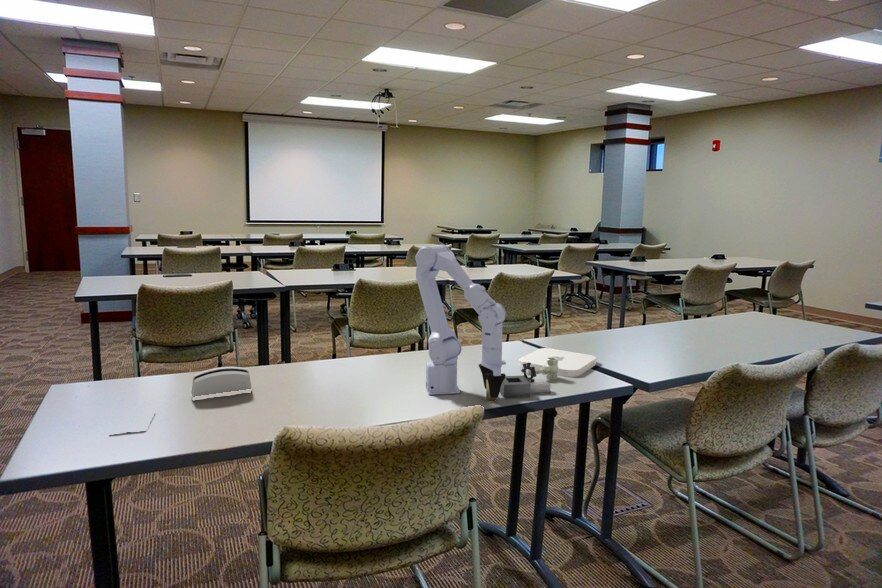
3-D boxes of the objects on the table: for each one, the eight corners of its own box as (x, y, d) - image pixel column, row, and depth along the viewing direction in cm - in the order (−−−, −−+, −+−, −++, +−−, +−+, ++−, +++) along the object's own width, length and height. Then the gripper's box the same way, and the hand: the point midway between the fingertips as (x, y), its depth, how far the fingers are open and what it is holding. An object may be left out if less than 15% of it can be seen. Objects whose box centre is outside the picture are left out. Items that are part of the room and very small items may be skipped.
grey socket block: (503, 398, 161) (503, 384, 160) (497, 389, 169) (497, 376, 168) (553, 396, 163) (553, 382, 162) (544, 387, 171) (545, 374, 170)
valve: (550, 374, 184) (520, 380, 178) (550, 355, 183) (521, 360, 177) (563, 380, 178) (533, 386, 172) (564, 360, 177) (534, 365, 171)
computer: (515, 367, 192) (515, 360, 192) (542, 354, 210) (542, 347, 210) (575, 379, 180) (575, 371, 179) (598, 363, 198) (599, 356, 197)
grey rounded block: (250, 387, 170) (250, 360, 165) (252, 397, 166) (252, 370, 161) (190, 396, 162) (189, 368, 158) (191, 406, 159) (190, 377, 154)
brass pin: (487, 401, 158) (487, 381, 157) (485, 398, 161) (485, 378, 160) (496, 401, 158) (497, 381, 157) (494, 398, 161) (495, 378, 160)
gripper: (512, 353, 150) (511, 400, 153) (499, 340, 165) (499, 384, 167) (486, 353, 150) (486, 401, 152) (476, 341, 164) (476, 385, 166)
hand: (491, 392), depth 159 cm, fingers open, 7 cm apart
